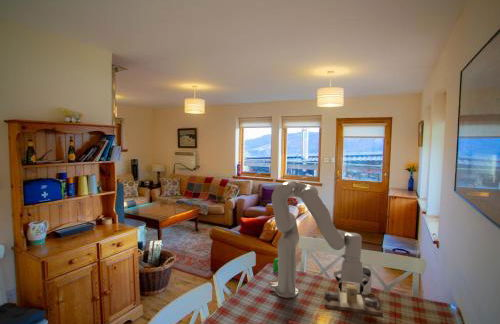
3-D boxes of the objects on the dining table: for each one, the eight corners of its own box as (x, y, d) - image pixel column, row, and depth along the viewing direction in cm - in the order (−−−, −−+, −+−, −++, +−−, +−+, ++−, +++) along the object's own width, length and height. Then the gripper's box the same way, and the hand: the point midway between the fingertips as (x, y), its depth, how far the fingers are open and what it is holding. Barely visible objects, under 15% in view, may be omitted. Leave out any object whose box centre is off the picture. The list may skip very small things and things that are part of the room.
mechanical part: (280, 274, 178) (280, 261, 177) (273, 271, 182) (273, 258, 182) (292, 269, 185) (293, 257, 185) (286, 266, 190) (286, 254, 190)
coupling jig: (324, 307, 142) (324, 298, 141) (324, 293, 155) (324, 285, 155) (381, 315, 135) (382, 306, 135) (376, 300, 149) (376, 292, 148)
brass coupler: (346, 302, 142) (347, 289, 142) (345, 296, 149) (346, 283, 148) (356, 304, 141) (357, 290, 141) (355, 297, 148) (355, 284, 147)
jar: (362, 296, 152) (363, 274, 152) (350, 289, 159) (351, 268, 159) (374, 293, 156) (374, 271, 156) (362, 286, 163) (363, 265, 163)
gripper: (334, 258, 142) (332, 292, 143) (372, 263, 138) (370, 298, 139) (334, 253, 150) (332, 285, 151) (369, 257, 145) (367, 290, 146)
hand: (350, 291), depth 145 cm, fingers open, 9 cm apart
